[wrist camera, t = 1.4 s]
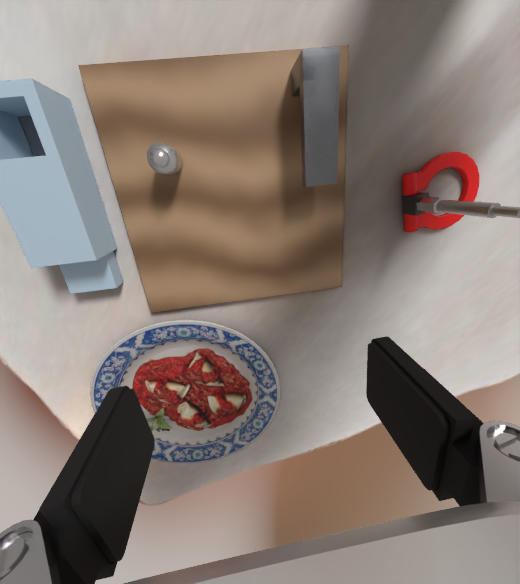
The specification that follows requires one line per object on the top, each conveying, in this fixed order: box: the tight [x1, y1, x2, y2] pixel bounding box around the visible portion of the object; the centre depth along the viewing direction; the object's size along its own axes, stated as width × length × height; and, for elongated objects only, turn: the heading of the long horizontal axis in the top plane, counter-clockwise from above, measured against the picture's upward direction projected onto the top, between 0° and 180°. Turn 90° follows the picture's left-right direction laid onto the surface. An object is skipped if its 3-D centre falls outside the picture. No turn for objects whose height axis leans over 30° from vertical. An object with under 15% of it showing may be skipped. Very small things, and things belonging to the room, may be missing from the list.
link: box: [0, 79, 123, 294], centre depth 25 cm, size 18×6×5 cm, turn 6°
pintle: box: [147, 143, 183, 175], centre depth 24 cm, size 2×2×5 cm
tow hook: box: [403, 152, 520, 232], centre depth 25 cm, size 8×13×9 cm
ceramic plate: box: [90, 320, 280, 463], centre depth 37 cm, size 26×26×3 cm
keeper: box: [291, 46, 340, 187], centre depth 24 cm, size 10×3×4 cm, turn 5°
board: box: [78, 46, 349, 312], centre depth 28 cm, size 24×24×1 cm
